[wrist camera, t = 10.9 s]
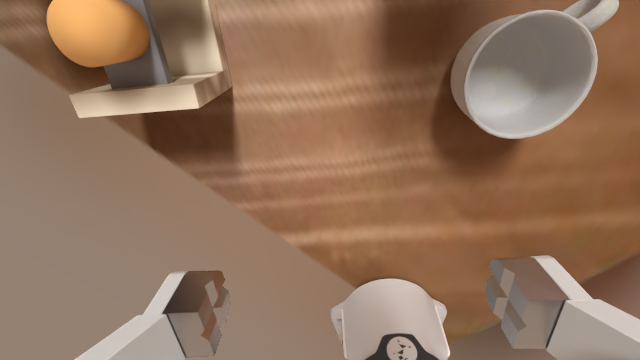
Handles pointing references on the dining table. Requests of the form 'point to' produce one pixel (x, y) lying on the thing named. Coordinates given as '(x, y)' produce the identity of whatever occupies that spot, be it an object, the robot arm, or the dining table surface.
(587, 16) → the teacup
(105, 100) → the wooden napkin holder
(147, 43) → the brown egg
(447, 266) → the dining table surface
